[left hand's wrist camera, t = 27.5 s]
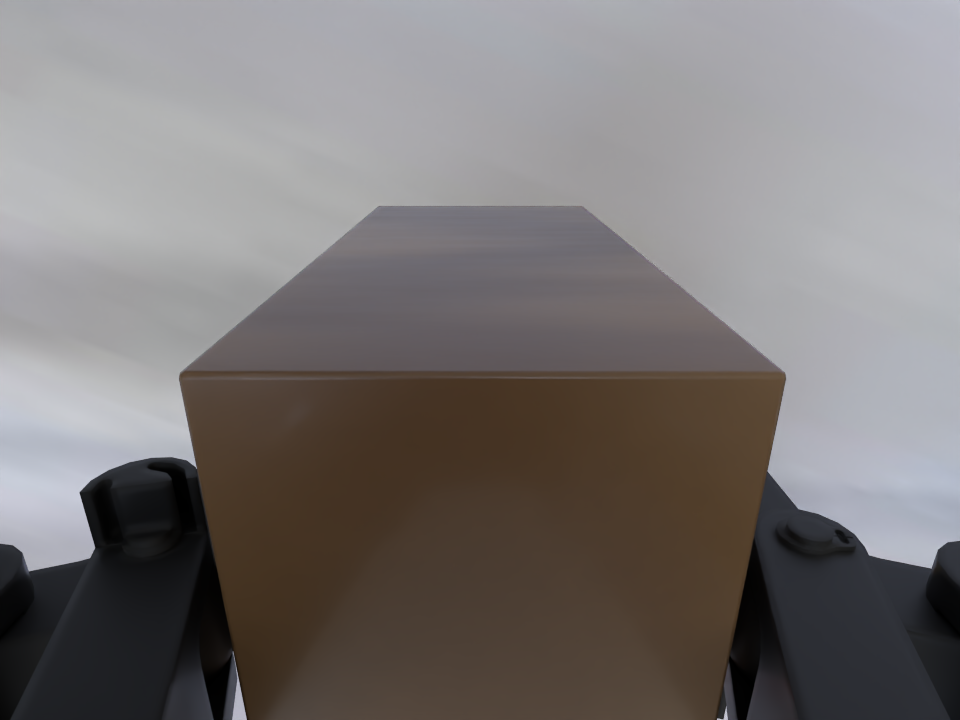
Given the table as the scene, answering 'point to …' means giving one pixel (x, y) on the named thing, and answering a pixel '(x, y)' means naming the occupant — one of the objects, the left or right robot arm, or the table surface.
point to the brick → (482, 476)
